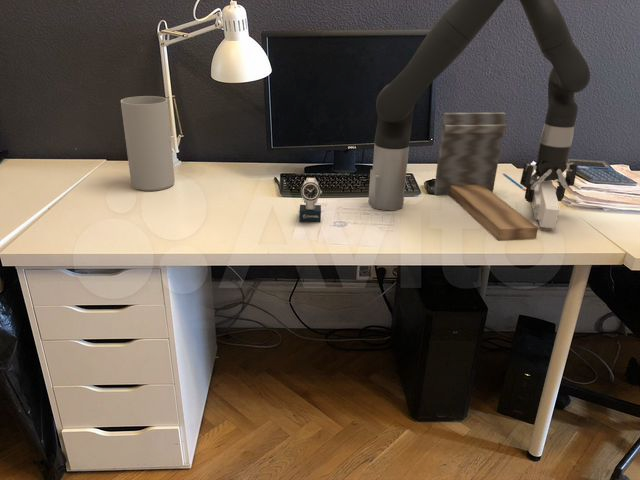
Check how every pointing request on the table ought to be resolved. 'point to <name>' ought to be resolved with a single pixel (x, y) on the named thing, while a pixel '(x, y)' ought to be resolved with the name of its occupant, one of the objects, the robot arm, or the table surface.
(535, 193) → the shelf bracket
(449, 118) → the cleat wall board
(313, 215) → the watch
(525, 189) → the pencil
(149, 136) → the cylinder vase
